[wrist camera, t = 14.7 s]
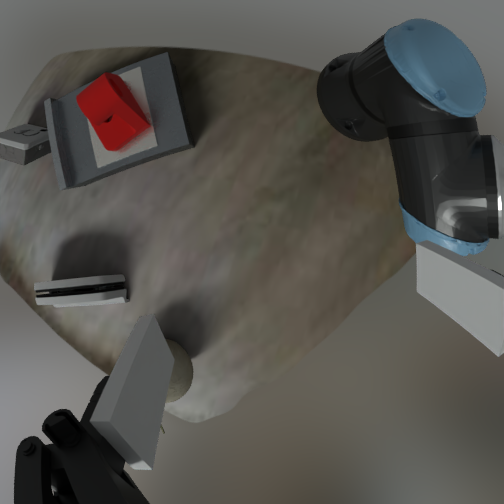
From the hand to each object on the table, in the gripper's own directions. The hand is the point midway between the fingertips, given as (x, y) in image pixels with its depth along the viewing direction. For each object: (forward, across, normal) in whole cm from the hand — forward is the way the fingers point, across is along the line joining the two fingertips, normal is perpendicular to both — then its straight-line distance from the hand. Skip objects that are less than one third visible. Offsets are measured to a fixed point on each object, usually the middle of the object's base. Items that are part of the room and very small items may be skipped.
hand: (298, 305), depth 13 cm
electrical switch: (+32, +32, -22) cm, 50 cm away
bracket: (+26, +14, -18) cm, 34 cm away
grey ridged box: (+32, +15, -18) cm, 39 cm away
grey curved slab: (+32, +31, +5) cm, 45 cm away
